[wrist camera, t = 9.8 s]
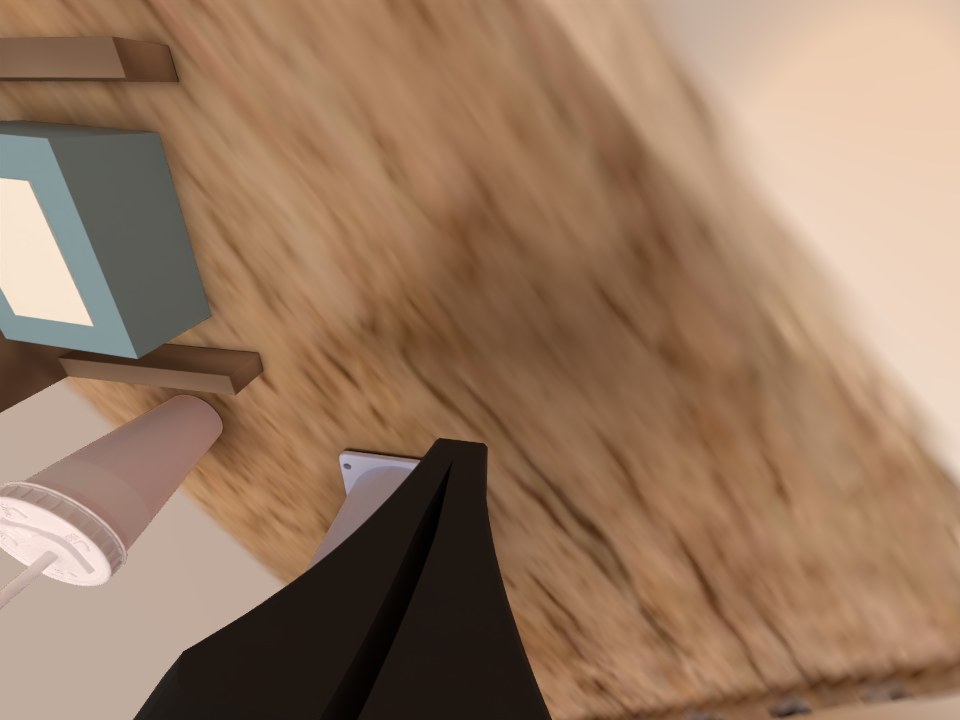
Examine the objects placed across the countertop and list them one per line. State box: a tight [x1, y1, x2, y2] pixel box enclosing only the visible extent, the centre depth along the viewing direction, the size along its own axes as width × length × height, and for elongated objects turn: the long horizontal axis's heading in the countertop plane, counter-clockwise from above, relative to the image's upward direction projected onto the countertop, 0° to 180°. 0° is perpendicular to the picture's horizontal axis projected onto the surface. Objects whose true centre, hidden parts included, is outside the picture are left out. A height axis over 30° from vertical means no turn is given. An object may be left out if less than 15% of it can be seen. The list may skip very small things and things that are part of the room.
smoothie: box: [0, 394, 223, 609], centre depth 22 cm, size 6×6×14 cm
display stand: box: [0, 37, 263, 413], centre depth 19 cm, size 15×12×6 cm
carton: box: [0, 120, 211, 359], centre depth 20 cm, size 9×7×5 cm
